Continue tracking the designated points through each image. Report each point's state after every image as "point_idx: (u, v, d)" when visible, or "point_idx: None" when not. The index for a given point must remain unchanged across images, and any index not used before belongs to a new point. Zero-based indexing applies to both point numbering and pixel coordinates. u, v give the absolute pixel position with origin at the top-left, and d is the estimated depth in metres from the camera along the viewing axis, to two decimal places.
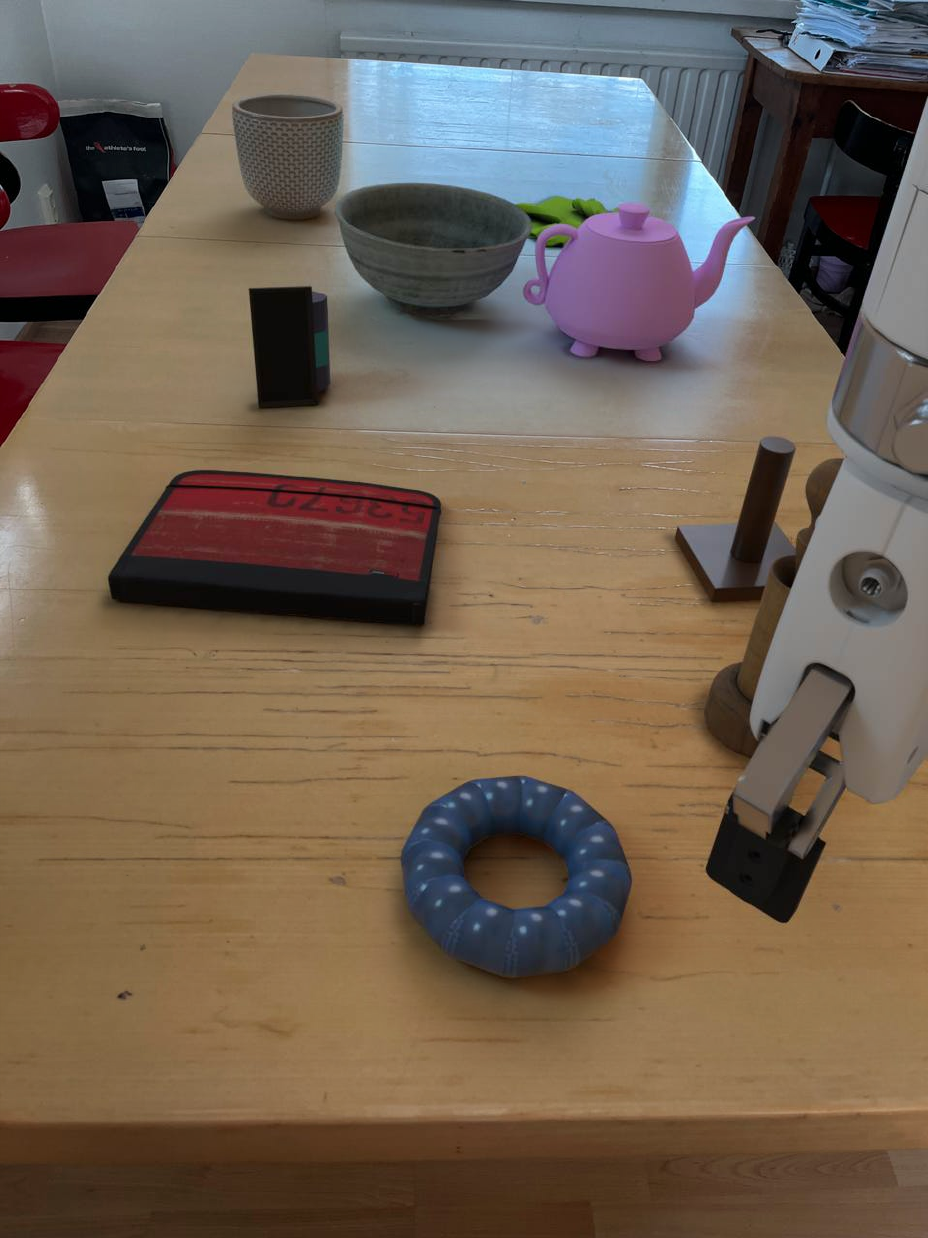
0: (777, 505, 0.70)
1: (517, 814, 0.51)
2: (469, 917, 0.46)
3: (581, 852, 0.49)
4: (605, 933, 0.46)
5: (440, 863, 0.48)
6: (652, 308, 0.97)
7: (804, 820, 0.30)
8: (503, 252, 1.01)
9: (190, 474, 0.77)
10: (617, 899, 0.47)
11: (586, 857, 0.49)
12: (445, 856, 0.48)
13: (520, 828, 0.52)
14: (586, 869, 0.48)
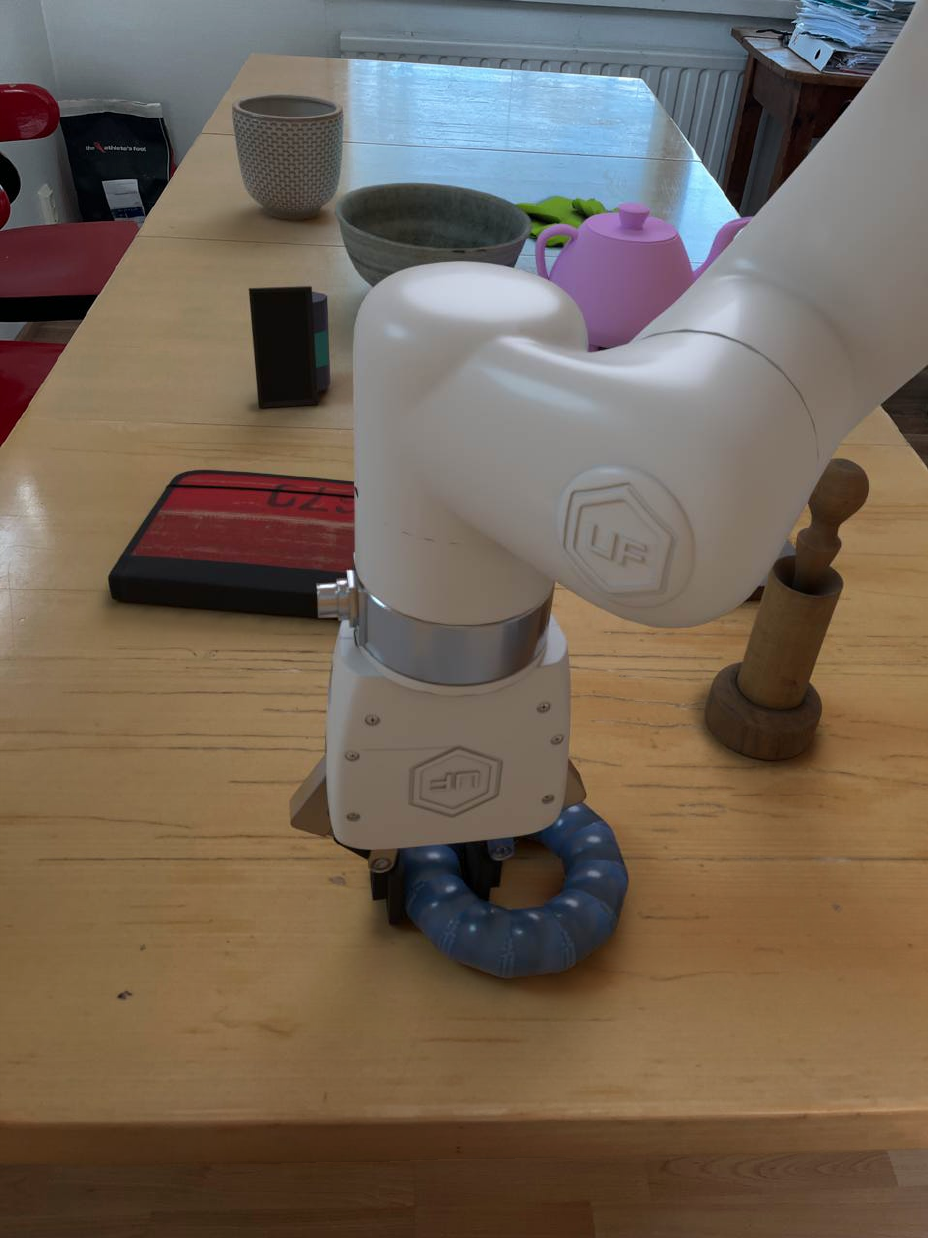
0: None
1: None
2: (465, 917, 0.46)
3: (577, 853, 0.49)
4: (601, 933, 0.46)
5: (436, 863, 0.48)
6: (652, 308, 0.97)
7: (368, 849, 0.45)
8: (503, 252, 1.01)
9: (190, 474, 0.77)
10: (614, 899, 0.47)
11: (583, 857, 0.49)
12: (442, 856, 0.48)
13: None
14: (583, 869, 0.48)
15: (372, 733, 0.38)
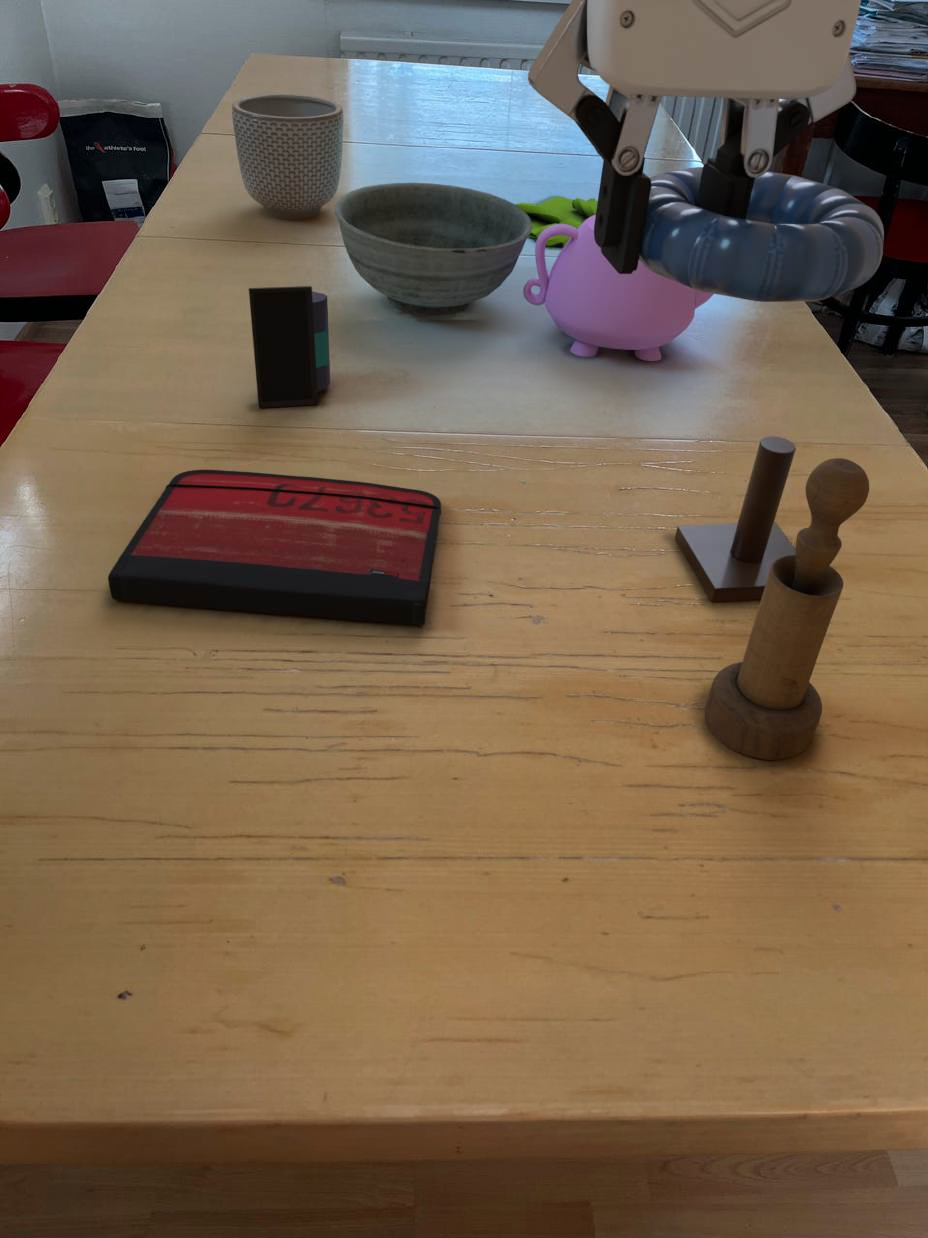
0: (777, 505, 0.70)
1: None
2: (722, 221, 0.40)
3: (825, 205, 0.44)
4: (870, 253, 0.41)
5: (676, 197, 0.42)
6: (652, 308, 0.97)
7: (614, 140, 0.40)
8: (503, 252, 1.01)
9: (190, 474, 0.77)
10: (878, 228, 0.42)
11: (832, 208, 0.44)
12: (679, 195, 0.43)
13: None
14: (837, 210, 0.43)
15: None
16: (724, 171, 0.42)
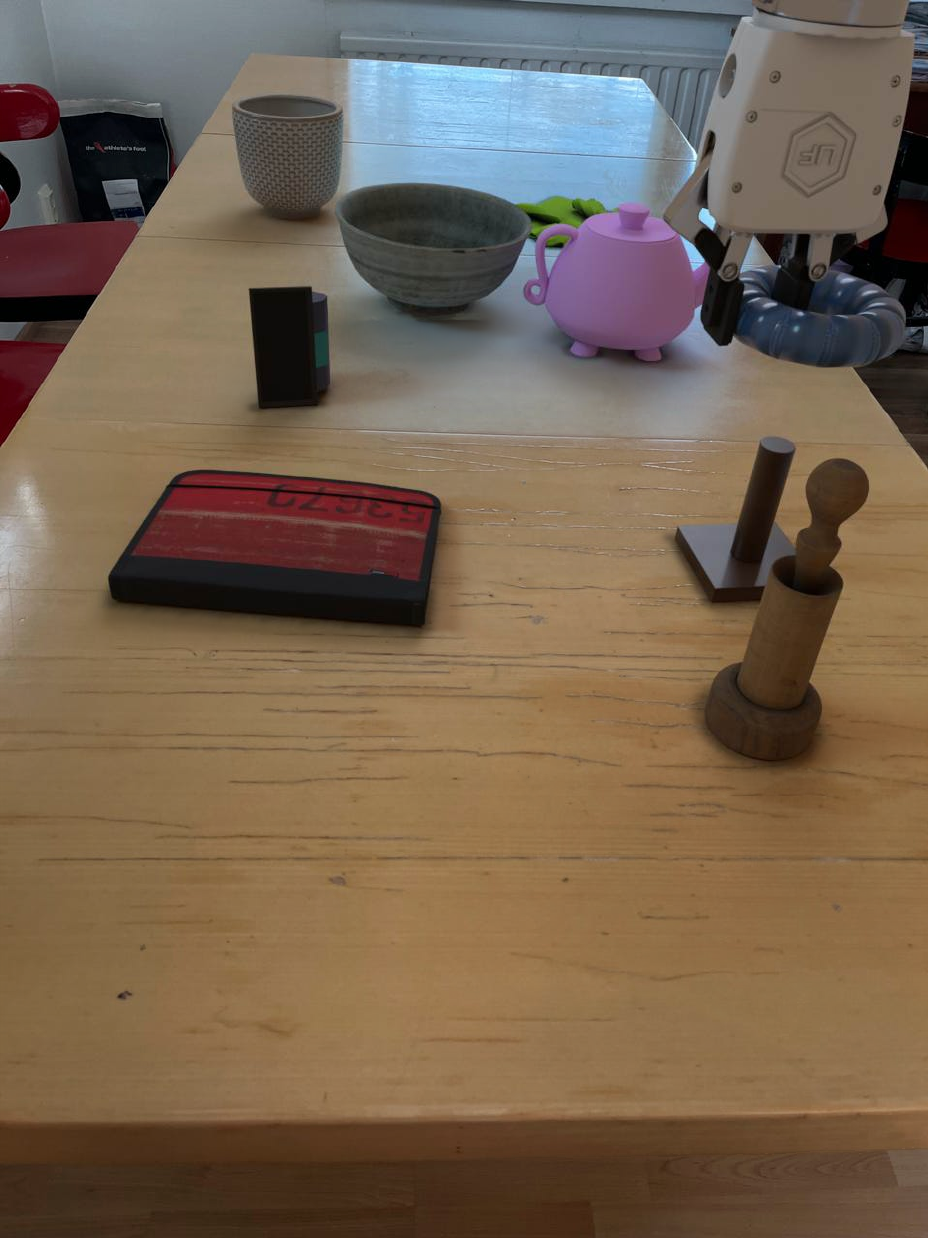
0: (777, 505, 0.70)
1: None
2: (794, 313, 0.58)
3: (864, 297, 0.62)
4: (896, 335, 0.59)
5: (760, 292, 0.61)
6: (652, 308, 0.97)
7: (721, 258, 0.58)
8: (503, 252, 1.01)
9: (190, 474, 0.77)
10: (902, 316, 0.60)
11: (869, 299, 0.62)
12: (762, 291, 0.61)
13: None
14: (873, 302, 0.61)
15: (772, 91, 0.51)
16: (794, 276, 0.60)
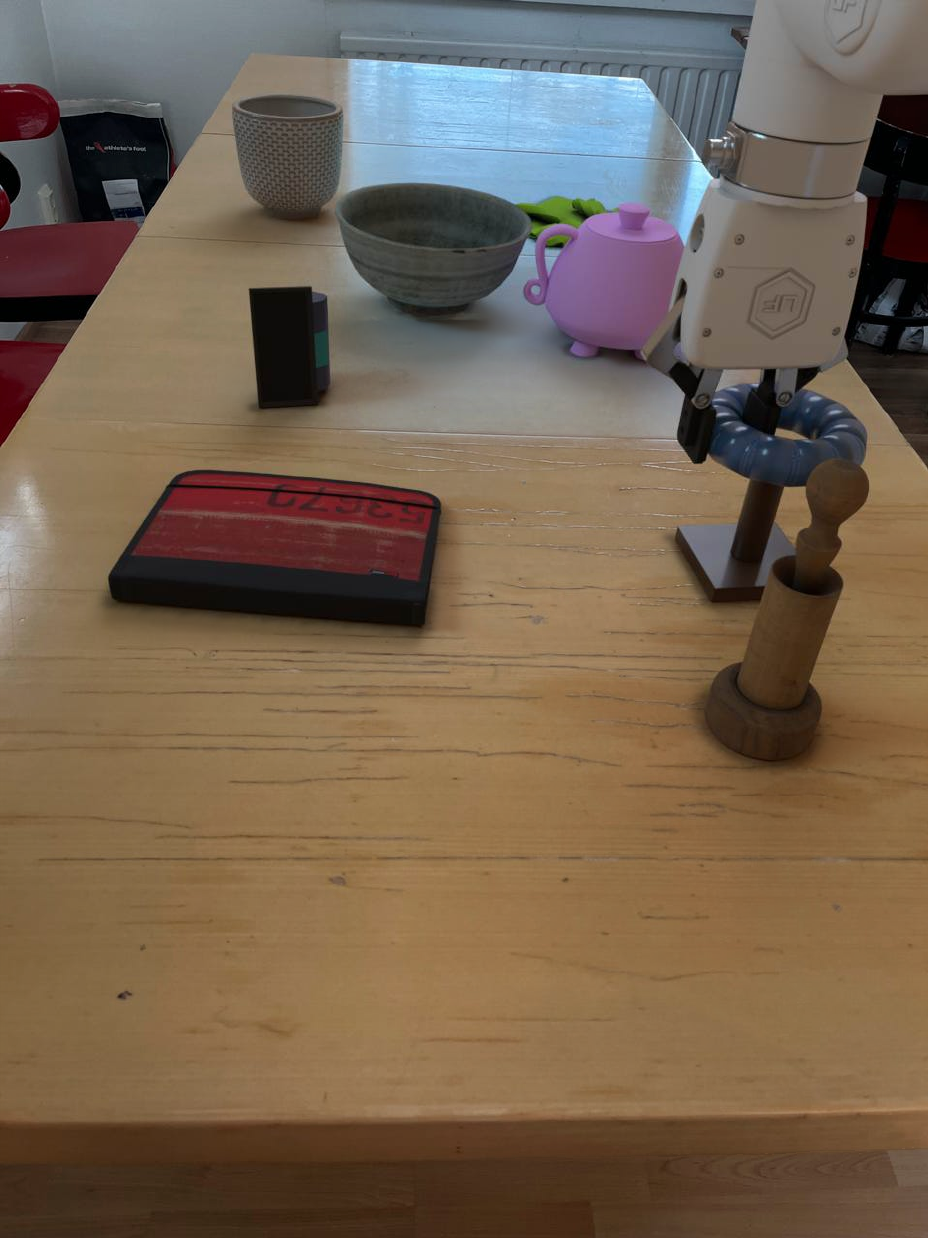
0: (777, 505, 0.70)
1: None
2: (762, 439, 0.63)
3: (829, 417, 0.67)
4: (857, 457, 0.64)
5: (731, 415, 0.66)
6: (652, 308, 0.97)
7: (694, 388, 0.63)
8: (503, 252, 1.01)
9: (190, 474, 0.77)
10: (863, 438, 0.65)
11: (833, 419, 0.67)
12: (733, 413, 0.66)
13: None
14: (836, 423, 0.66)
15: (737, 251, 0.56)
16: (763, 400, 0.65)
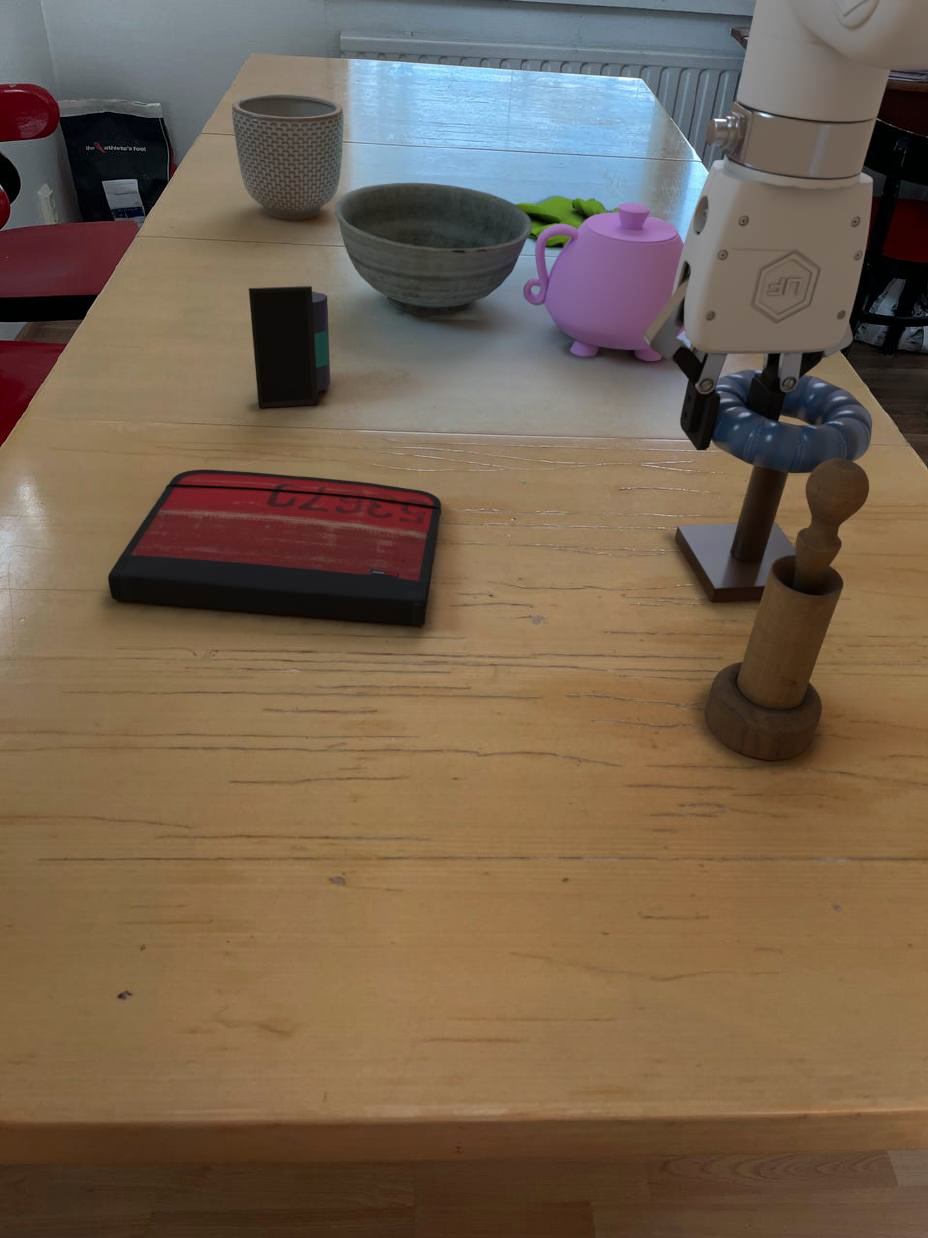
0: (777, 505, 0.70)
1: None
2: (766, 424, 0.63)
3: (833, 404, 0.66)
4: (862, 443, 0.63)
5: (735, 401, 0.65)
6: (652, 308, 0.97)
7: (698, 373, 0.62)
8: (503, 252, 1.01)
9: (190, 474, 0.77)
10: (868, 424, 0.64)
11: (838, 406, 0.66)
12: (737, 399, 0.65)
13: None
14: (841, 409, 0.65)
15: (741, 232, 0.55)
16: (766, 386, 0.65)
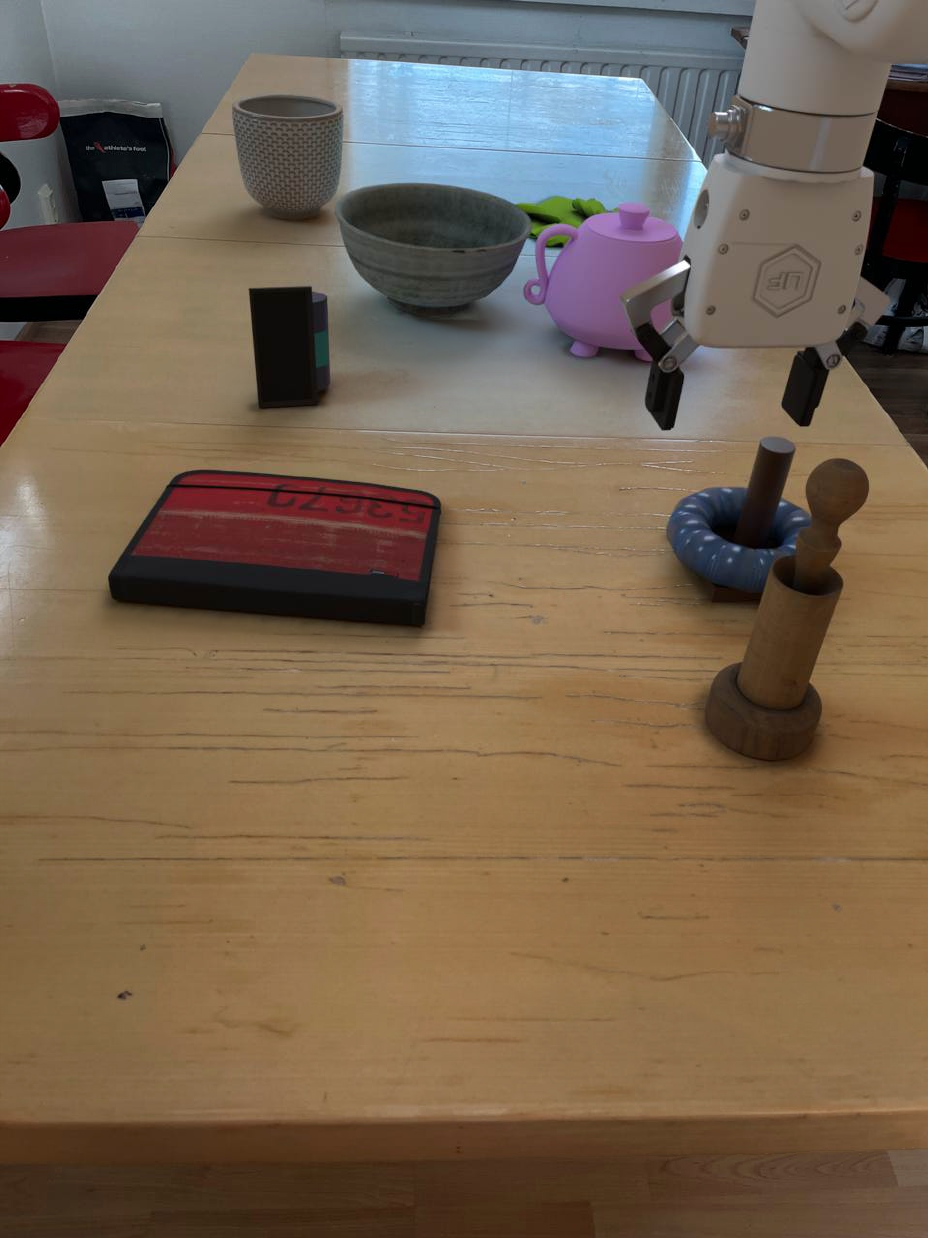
0: (777, 505, 0.70)
1: None
2: (726, 549, 0.69)
3: (791, 524, 0.72)
4: None
5: (700, 524, 0.71)
6: None
7: (667, 348, 0.61)
8: (503, 252, 1.01)
9: (190, 474, 0.77)
10: None
11: (795, 526, 0.72)
12: (702, 521, 0.71)
13: None
14: (798, 531, 0.71)
15: (742, 227, 0.55)
16: (810, 363, 0.64)
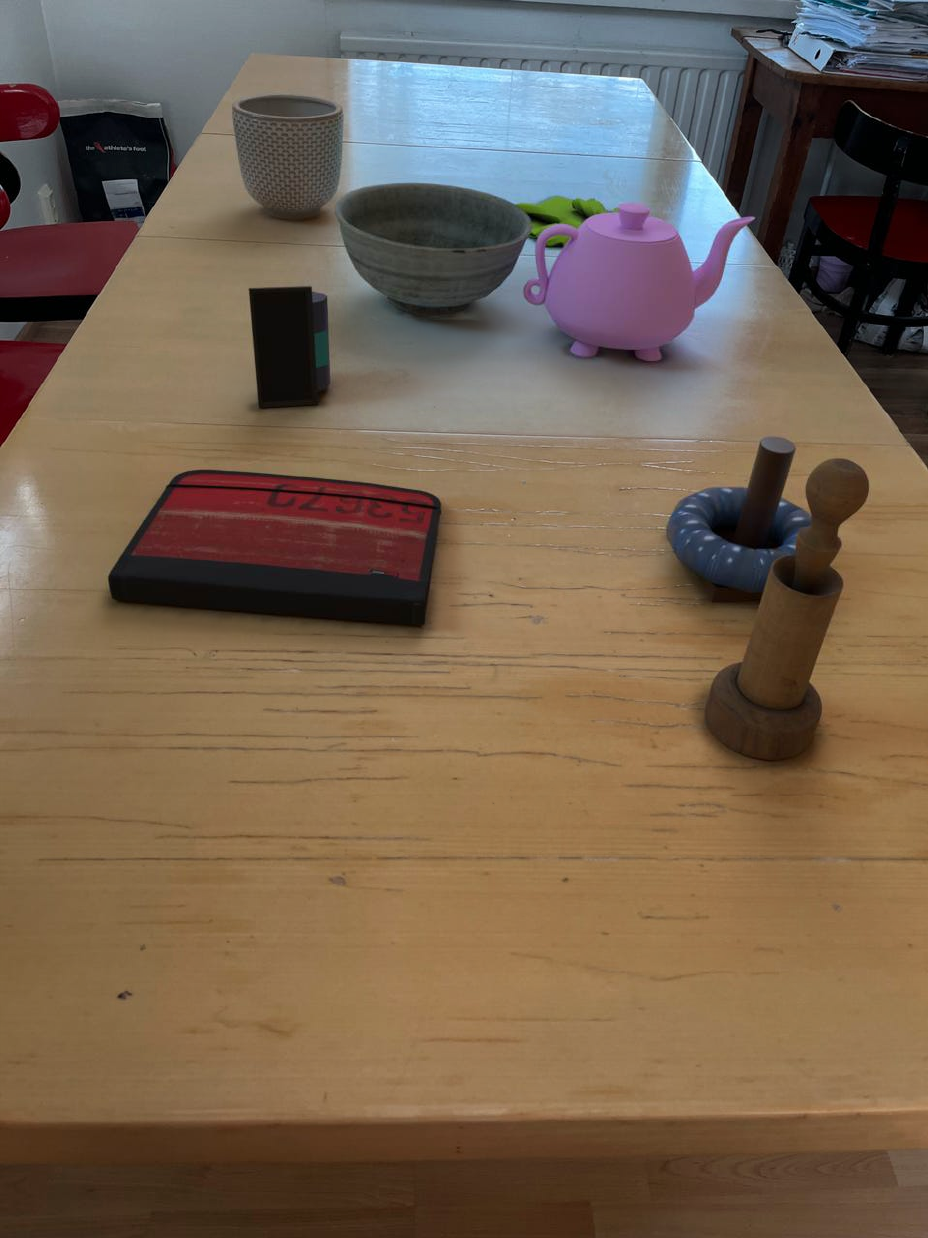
0: (777, 505, 0.70)
1: None
2: (726, 549, 0.69)
3: (791, 524, 0.72)
4: None
5: (700, 524, 0.71)
6: (652, 308, 0.97)
7: None
8: (503, 252, 1.01)
9: (190, 474, 0.77)
10: None
11: (795, 526, 0.72)
12: (702, 521, 0.71)
13: None
14: (798, 531, 0.71)
15: None
16: None
